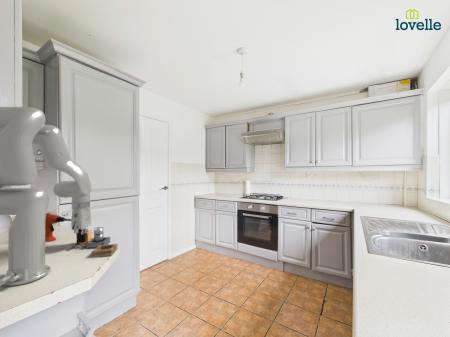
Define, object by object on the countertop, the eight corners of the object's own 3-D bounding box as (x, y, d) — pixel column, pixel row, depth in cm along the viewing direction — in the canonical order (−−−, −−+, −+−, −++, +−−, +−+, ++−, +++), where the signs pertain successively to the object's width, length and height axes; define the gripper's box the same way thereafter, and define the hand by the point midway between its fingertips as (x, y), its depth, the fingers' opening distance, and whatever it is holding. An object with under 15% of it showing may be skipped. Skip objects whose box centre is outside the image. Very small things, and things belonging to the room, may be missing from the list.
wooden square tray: (111, 255, 91) (111, 250, 91) (91, 257, 90) (91, 251, 90) (117, 248, 99) (117, 243, 99) (99, 250, 98) (99, 245, 98)
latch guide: (84, 249, 98) (84, 247, 98) (67, 250, 97) (67, 248, 97) (95, 240, 111) (95, 238, 111) (81, 241, 110) (81, 239, 110)
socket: (104, 247, 101) (104, 242, 101) (86, 248, 100) (86, 243, 100) (110, 241, 109) (110, 237, 109) (93, 242, 107) (93, 237, 107)
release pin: (87, 244, 105) (87, 230, 105) (79, 244, 104) (79, 231, 105) (91, 241, 109) (91, 228, 109) (83, 242, 108) (83, 228, 108)
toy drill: (66, 244, 105) (66, 215, 105) (37, 242, 108) (37, 213, 108) (75, 241, 109) (75, 213, 109) (47, 239, 113) (47, 211, 113)
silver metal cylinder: (101, 245, 103) (101, 229, 103) (92, 245, 102) (92, 229, 102) (104, 242, 107) (104, 226, 107) (96, 242, 106) (96, 227, 106)
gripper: (81, 207, 96) (81, 247, 96) (95, 202, 110) (95, 236, 110) (63, 208, 94) (63, 248, 94) (80, 203, 109) (80, 237, 109)
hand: (80, 242), depth 102 cm, fingers closed
